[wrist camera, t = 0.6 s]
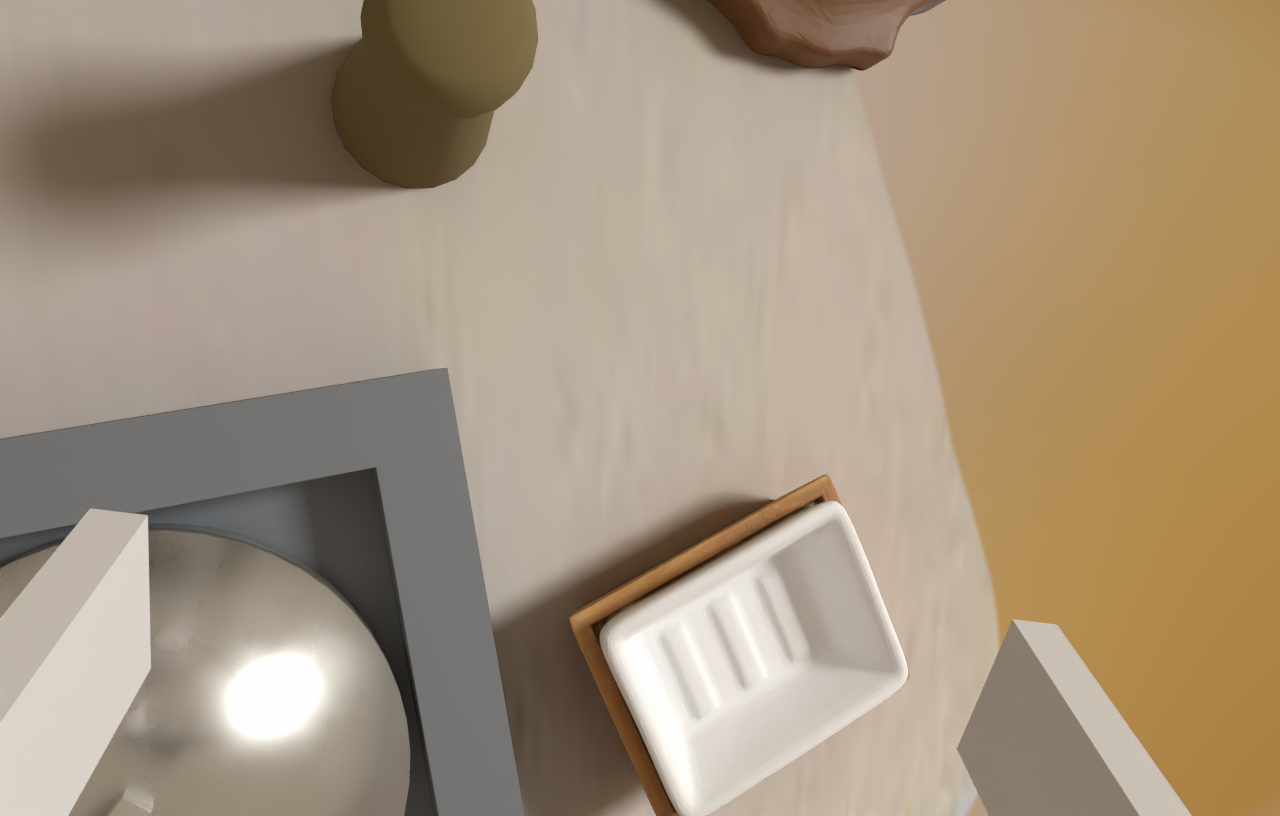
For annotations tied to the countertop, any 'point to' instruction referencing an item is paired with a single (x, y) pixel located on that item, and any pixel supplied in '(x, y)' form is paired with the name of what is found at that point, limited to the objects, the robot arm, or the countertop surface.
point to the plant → (822, 28)
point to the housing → (318, 538)
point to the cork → (430, 84)
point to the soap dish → (742, 651)
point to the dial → (247, 690)
